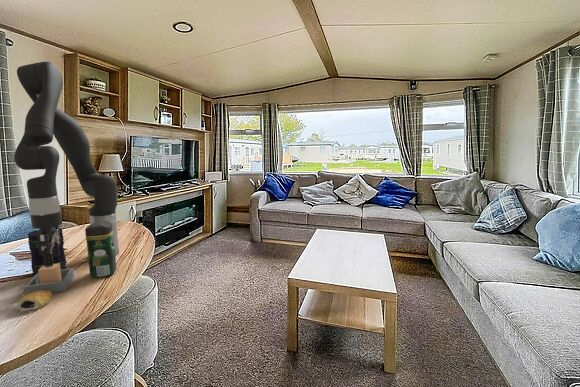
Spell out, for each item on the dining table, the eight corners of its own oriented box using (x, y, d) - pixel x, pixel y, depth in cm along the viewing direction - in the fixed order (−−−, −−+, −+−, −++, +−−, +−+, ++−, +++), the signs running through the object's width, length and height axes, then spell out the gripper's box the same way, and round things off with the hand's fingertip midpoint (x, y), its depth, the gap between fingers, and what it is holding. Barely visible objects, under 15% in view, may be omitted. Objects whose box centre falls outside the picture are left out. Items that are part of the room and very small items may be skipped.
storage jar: (31, 272, 113) (25, 231, 111) (64, 264, 120) (59, 226, 118) (34, 280, 106) (28, 237, 104) (69, 272, 113) (65, 231, 111)
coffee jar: (93, 270, 115) (88, 220, 112) (118, 267, 117) (114, 218, 115) (87, 280, 106) (81, 226, 103) (113, 277, 108) (109, 224, 106)
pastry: (33, 297, 94) (32, 285, 94) (59, 295, 96) (58, 283, 95) (13, 313, 85) (12, 300, 85) (42, 310, 87) (40, 297, 86)
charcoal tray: (38, 281, 105) (37, 272, 104) (74, 276, 109) (73, 268, 108) (25, 297, 94) (24, 287, 93) (65, 291, 98) (64, 281, 97)
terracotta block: (45, 282, 102) (42, 265, 101) (61, 280, 104) (59, 263, 103) (40, 288, 98) (38, 270, 97) (57, 286, 100) (55, 267, 99)
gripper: (37, 208, 102) (44, 255, 105) (22, 217, 90) (30, 271, 92) (65, 205, 105) (71, 252, 108) (54, 214, 93) (61, 266, 95)
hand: (52, 261), depth 100 cm, fingers open, 8 cm apart
